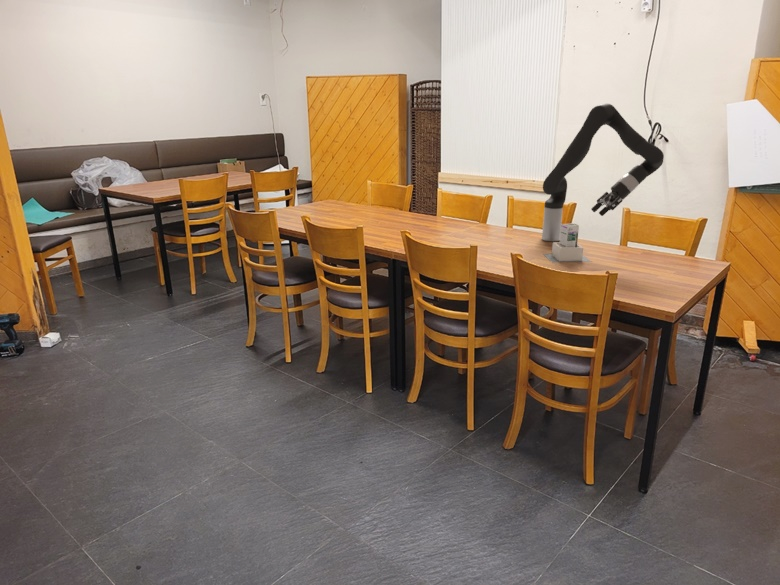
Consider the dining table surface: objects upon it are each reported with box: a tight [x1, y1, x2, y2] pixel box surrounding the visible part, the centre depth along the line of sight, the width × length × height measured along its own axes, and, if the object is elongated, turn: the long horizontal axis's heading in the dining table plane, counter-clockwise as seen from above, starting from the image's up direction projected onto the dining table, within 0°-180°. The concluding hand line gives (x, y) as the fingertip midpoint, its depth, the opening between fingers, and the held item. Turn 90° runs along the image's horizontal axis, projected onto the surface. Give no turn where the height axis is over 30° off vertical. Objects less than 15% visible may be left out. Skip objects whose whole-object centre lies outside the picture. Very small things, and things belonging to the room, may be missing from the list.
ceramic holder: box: [551, 241, 584, 261], centre depth 251 cm, size 10×10×6 cm
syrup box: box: [559, 222, 580, 248], centre depth 249 cm, size 6×6×14 cm
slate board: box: [542, 253, 593, 264], centre depth 252 cm, size 14×18×2 cm
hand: (596, 212), depth 245 cm, fingers open, 8 cm apart
